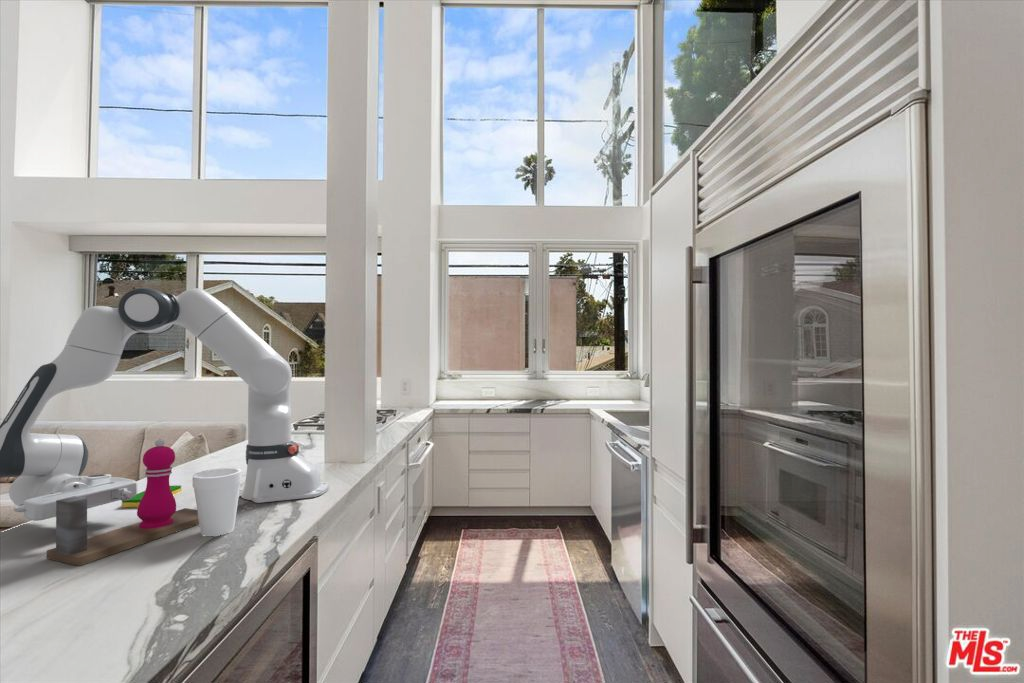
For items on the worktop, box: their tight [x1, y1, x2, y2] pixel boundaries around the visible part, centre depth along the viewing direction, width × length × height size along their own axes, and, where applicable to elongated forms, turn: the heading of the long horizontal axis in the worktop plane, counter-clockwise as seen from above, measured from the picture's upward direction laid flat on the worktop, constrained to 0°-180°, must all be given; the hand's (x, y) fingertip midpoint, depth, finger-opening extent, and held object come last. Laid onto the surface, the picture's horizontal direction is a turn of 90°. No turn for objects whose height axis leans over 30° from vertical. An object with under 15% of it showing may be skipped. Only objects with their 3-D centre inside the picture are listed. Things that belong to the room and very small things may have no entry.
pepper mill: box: [136, 438, 177, 529], centre depth 113 cm, size 7×7×20 cm
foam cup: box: [192, 467, 243, 537], centre depth 113 cm, size 10×9×13 cm
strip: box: [46, 496, 199, 567], centre depth 110 cm, size 28×10×12 cm, turn 159°
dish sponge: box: [121, 485, 182, 508], centre depth 138 cm, size 7×14×2 cm, turn 2°
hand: (105, 501), depth 111 cm, fingers open, 8 cm apart
